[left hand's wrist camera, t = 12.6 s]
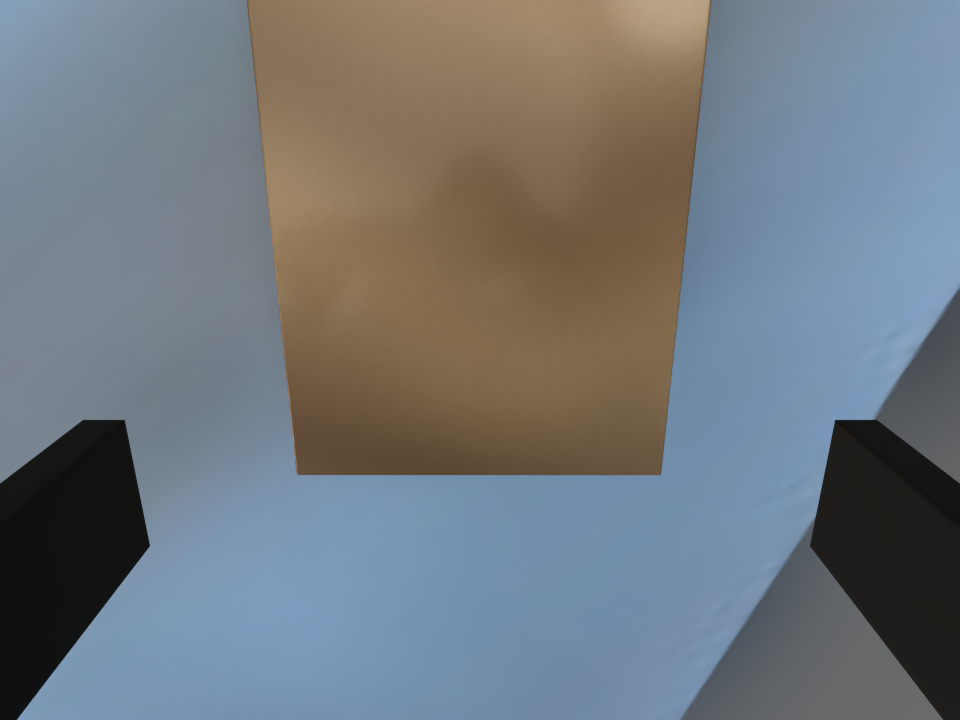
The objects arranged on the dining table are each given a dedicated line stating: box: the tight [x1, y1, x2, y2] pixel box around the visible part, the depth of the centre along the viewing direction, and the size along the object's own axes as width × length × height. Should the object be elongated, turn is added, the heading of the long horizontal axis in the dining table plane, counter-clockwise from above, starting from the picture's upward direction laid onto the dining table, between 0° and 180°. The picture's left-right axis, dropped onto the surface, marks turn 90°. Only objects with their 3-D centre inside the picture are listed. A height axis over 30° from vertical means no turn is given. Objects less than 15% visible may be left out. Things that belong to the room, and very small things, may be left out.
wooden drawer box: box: [247, 0, 711, 475], centre depth 23 cm, size 21×11×12 cm, turn 0°
